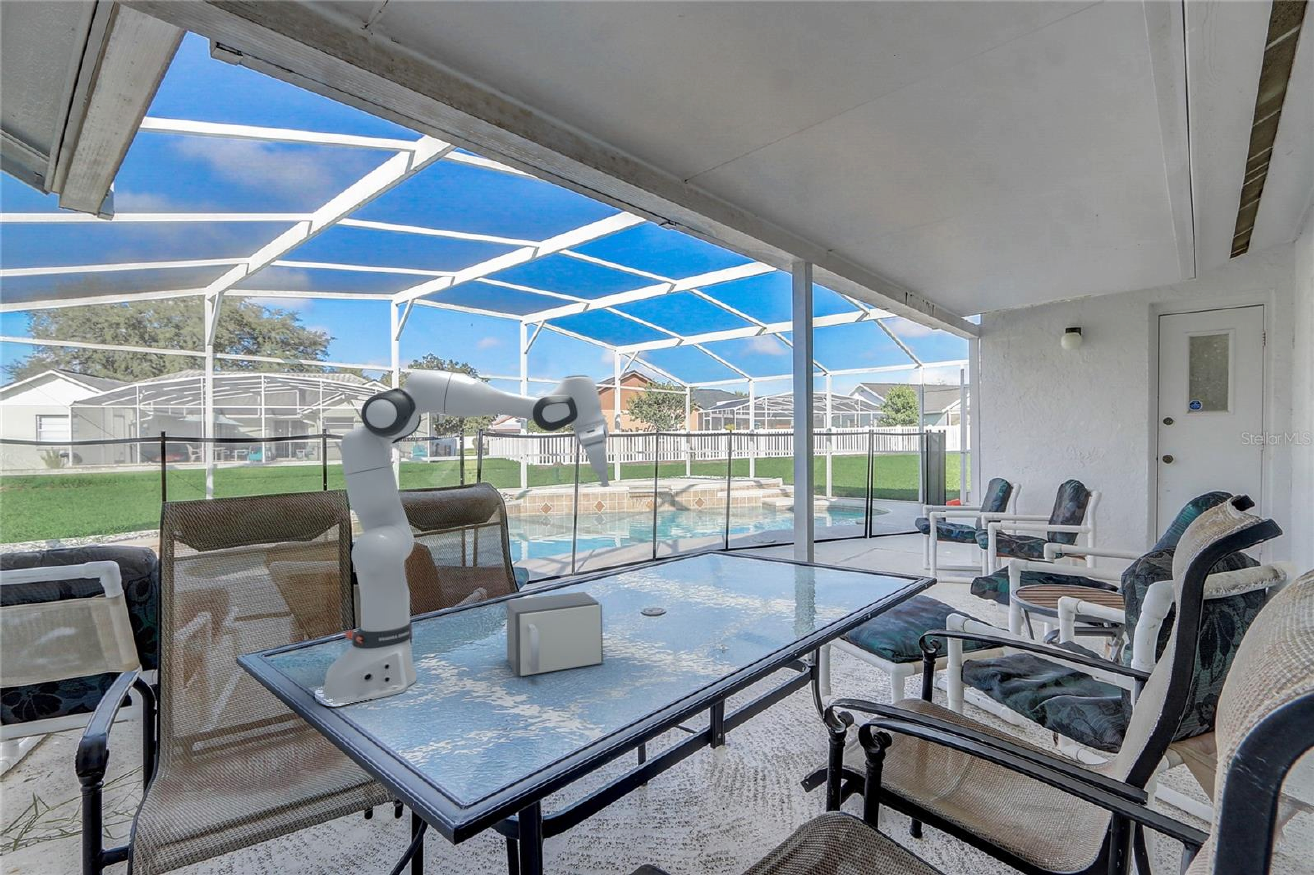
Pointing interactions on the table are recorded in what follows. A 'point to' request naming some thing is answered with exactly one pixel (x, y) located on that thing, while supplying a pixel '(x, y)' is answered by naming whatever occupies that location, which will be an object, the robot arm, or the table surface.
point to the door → (560, 639)
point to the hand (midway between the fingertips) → (605, 483)
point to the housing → (530, 607)
